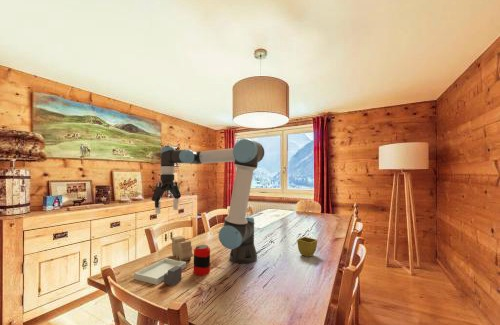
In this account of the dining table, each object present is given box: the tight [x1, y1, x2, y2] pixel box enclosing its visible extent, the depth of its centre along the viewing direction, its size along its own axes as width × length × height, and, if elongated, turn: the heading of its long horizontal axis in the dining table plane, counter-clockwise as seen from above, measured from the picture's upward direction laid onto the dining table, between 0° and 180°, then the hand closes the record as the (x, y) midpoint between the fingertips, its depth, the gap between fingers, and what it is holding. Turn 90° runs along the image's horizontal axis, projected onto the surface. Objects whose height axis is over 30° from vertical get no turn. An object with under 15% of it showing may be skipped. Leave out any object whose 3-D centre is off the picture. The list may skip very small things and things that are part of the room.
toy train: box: [171, 235, 194, 262], centre depth 126 cm, size 6×17×10 cm, turn 39°
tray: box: [133, 257, 187, 286], centre depth 107 cm, size 13×19×2 cm
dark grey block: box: [163, 266, 182, 287], centre depth 98 cm, size 5×5×6 cm
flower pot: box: [296, 236, 318, 258], centre depth 131 cm, size 9×9×9 cm
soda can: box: [193, 244, 211, 276], centre depth 108 cm, size 8×8×12 cm
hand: (167, 211), depth 128 cm, fingers open, 13 cm apart
